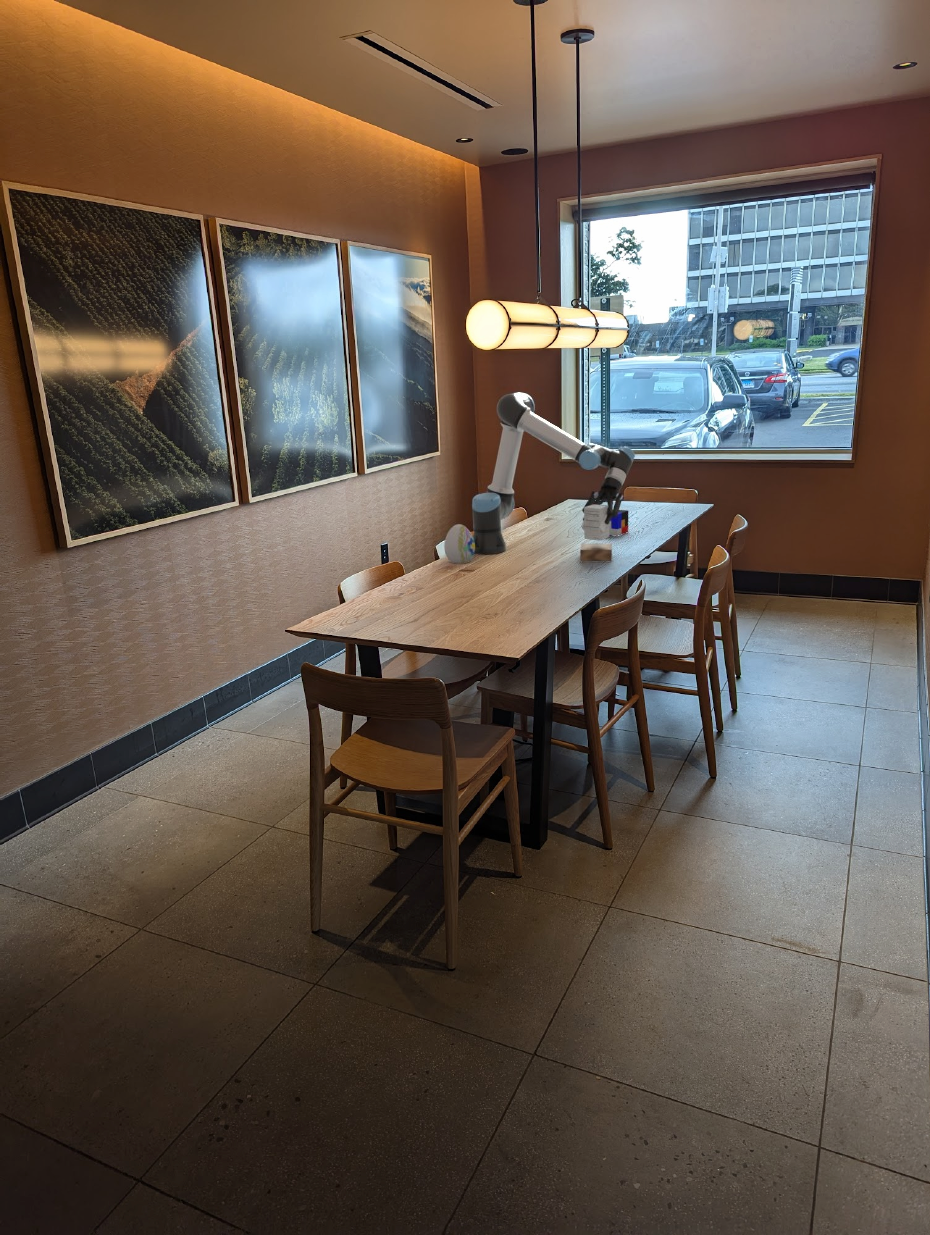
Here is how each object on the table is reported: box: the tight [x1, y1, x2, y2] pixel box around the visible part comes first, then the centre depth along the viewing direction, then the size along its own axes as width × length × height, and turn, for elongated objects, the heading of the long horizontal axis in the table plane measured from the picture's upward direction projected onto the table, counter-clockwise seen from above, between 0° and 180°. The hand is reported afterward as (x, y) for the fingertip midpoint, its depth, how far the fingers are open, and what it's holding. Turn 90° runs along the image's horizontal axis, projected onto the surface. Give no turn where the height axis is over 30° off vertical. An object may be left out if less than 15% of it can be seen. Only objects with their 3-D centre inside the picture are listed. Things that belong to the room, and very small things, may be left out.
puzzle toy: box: [609, 509, 629, 537], centre depth 375 cm, size 10×10×10 cm
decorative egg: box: [443, 523, 476, 564], centre depth 335 cm, size 12×12×15 cm
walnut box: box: [579, 542, 613, 563], centre depth 331 cm, size 12×12×5 cm
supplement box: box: [583, 504, 610, 541], centre depth 328 cm, size 7×7×13 cm
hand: (592, 529), depth 326 cm, fingers closed on supplement box, 7 cm apart
